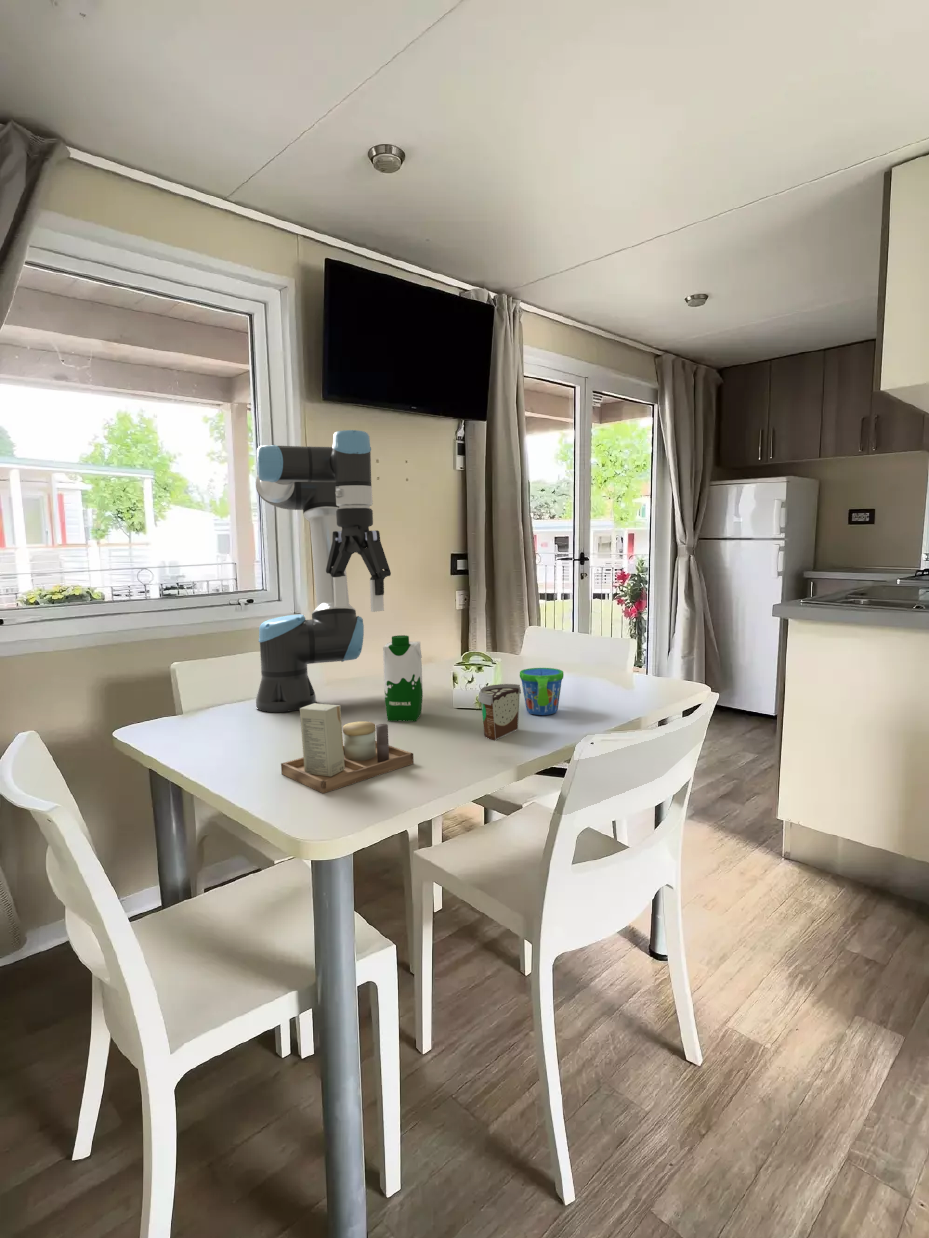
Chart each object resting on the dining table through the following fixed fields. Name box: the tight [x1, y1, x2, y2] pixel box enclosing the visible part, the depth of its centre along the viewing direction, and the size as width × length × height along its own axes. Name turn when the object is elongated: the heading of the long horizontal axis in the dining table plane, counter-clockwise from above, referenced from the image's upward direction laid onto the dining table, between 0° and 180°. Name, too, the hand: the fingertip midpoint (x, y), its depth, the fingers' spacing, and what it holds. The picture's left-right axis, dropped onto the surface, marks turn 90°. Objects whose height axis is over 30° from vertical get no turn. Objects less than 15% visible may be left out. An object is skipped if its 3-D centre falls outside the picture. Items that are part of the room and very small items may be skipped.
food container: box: [477, 683, 522, 741], centre depth 144 cm, size 12×6×10 cm, turn 145°
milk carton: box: [382, 634, 424, 722], centre depth 157 cm, size 9×9×20 cm
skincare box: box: [299, 702, 345, 777], centre depth 119 cm, size 6×4×12 cm
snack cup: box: [519, 667, 564, 716], centre depth 160 cm, size 16×10×10 cm
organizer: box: [280, 721, 414, 794], centre depth 123 cm, size 14×20×8 cm
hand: (358, 608), depth 140 cm, fingers open, 13 cm apart
